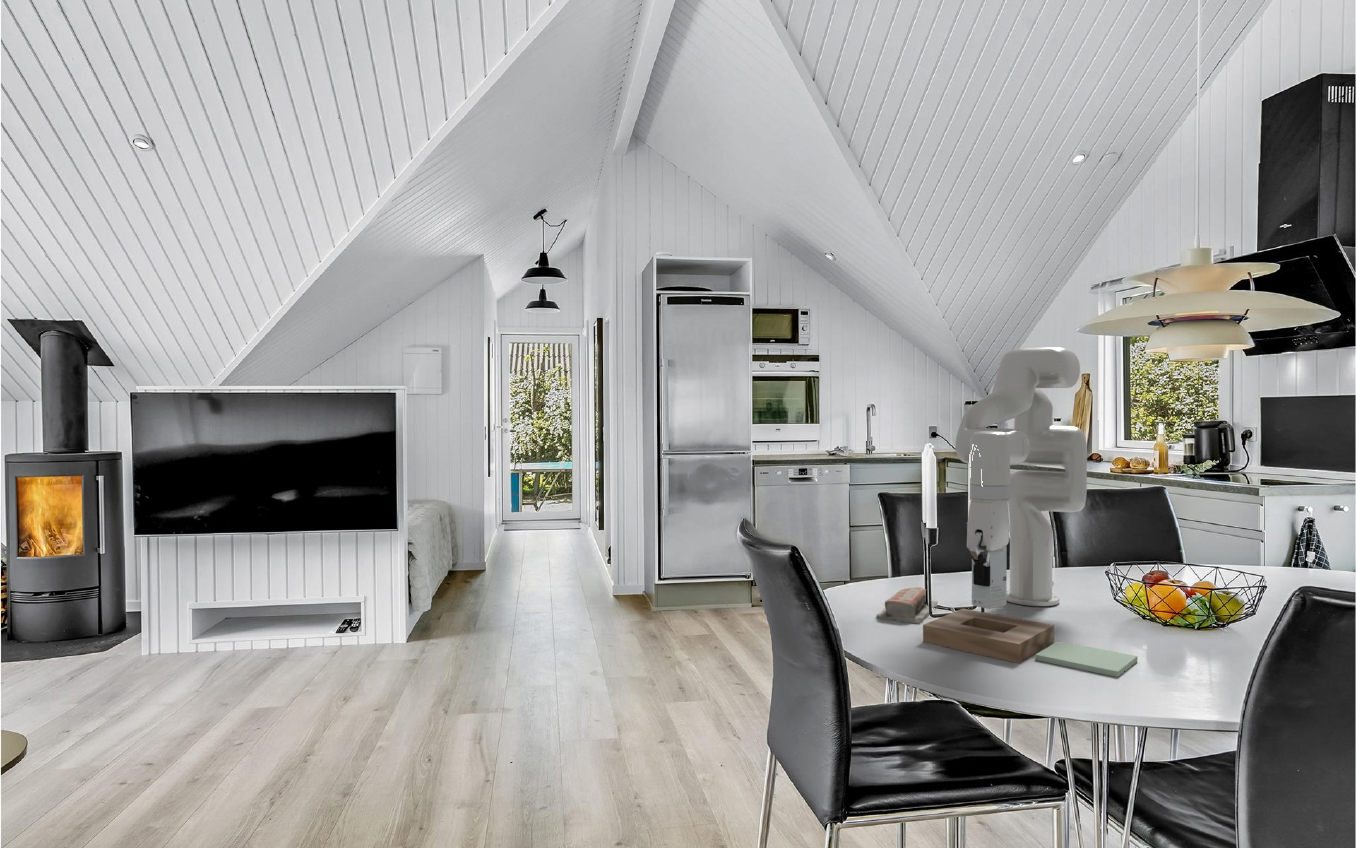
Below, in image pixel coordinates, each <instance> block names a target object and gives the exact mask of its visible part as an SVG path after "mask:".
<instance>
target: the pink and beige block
mask: <svg viewBox="0 0 1356 848" xmlns="http://www.w3.org/2000/svg"><path fill="white" fill-rule="evenodd" d="M926 590H927V589H924V588H923V587H909V588H902V589H900V590H898V591H897V592H896V593H895V594H893V595H891V596H890V598H888V599H887V600H885V601H884V608H883V609H882V610H881V611H879V612H878V613H877V614H876V619H879V620H886V621H893V622H894V621H897V622H903V623H911V624H918V623H921V624H922V623H923V622H924V621H925V620H926V619H927V618H928V617H929V616H930V615H929V608H928V606H927V604H926ZM931 601H932V608H933V609H934V607H935V606H937V607H938V604H939V603H938V602H939V601H938V600H931Z"/></svg>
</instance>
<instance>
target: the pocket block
mask: <svg viewBox="0 0 1356 848" xmlns="http://www.w3.org/2000/svg"><path fill="white" fill-rule="evenodd" d="M924 642H926V643H925V644H929V643H930V644H929V645H934V646H938V645H939V646H938V647H943V648H947V647H949V648H948V649H953V650H958V651H961V650H962V651H963V652H966V653H970V652H972V654H976V655H980V654H981V655H980V656H984V657H985V656H986V657H989V658H994V659H999V660H1004V661H1007V662H1013V663H1017V664H1021V662H1024V661H1025V660H1027V659H1028V658H1030V657H1032V656H1033V655H1036V654H1037V653H1039V652H1041V651H1042V650H1044V649H1046V648H1047V647H1049V646H1051V645H1052V644H1054V643H1055V625H1054V624H1050V623H1046V622H1038V621H1034V620H1029V619H1023V618H1017V617H1013V616H1007V615H1006V616H1005V615H1001V614H996V613H995V614H994V613H991V612H984V611H977V610H973V609H967V608H959V609H958V610H956V611H953V612H950V613H949V614H946V615H943V616H941V617H939V618H937V619H934V620H931V621H929V622H927V623H925V624H922V643H924Z"/></svg>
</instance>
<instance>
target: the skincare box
mask: <svg viewBox="0 0 1356 848" xmlns="http://www.w3.org/2000/svg"><path fill="white" fill-rule="evenodd" d="M1007 548H1008V547H1007V546H1003V547H1002V548H1000V549H998V550H996V551H993V552H991V553H990V559H989V564H988V566H990V586H988V587H987V586H980V585H975V584H974V583H973V563H972V562H973V559H972V558H971V605H972V606H974V607H977V608H983V609H986V610H987V609H988V610H991V609H994V608H995V609H996V608H1000V607H1004V606H1005V607H1006V605H1007V602H1008V601H1006V596H1007V591H1008V590H1007V579H1008V578H1007V568H1008V567H1007V553H1008V552H1007ZM979 549H983V550H986V548H983V547H980V548H979ZM980 554H981V553H980ZM982 555H983V557H985V554H982Z"/></svg>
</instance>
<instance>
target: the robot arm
mask: <svg viewBox="0 0 1356 848" xmlns="http://www.w3.org/2000/svg"><path fill="white" fill-rule="evenodd" d="M1080 364H1081V363H1080V360H1079V358H1078V356H1077V354H1076V353H1075V352H1073V351H1071V350H1069V349H1067V348H1063V347H1056V346H1055V347H1054V346H1053V347H1051V346H1050V347H1046V346H1045V347H1027V348H1025V347H1024V348H1023V347H1022V348H1016V349H1011V350H1009V351H1007V352H1006V353H1005V354H1004V355H1003V356H1002V358H1001V360H1000V362H999V366H998V369H997V373H996V376H995V380H994V384H993V387H992V391H991V393H989V394H987V395H985V396H983V397H982V398H981V399H979V400H978V401H977V402H975V403H974V404H973V405H972V406H970V407H969V408H968V409H967V410H966V411H965V413H964V414H963V416H962V417H961V420H960V423H959V425H958V426H959V427H958V430H957V433H956V437H955V444H954V446H955V447H954V449H955V454H956V457H957V458H958V459H959V460H960V461H961V462H962V463H966V464H970V463H969V454H970V452H971V450H972V444H974V446H973V450H972V454H971V467H970V466H969V469H970V468H971V478H970V477H969V500H970V503H969V509H968V516H967V517H968V518H967V530H966V531H967V533H966V547H967V549H968V550H969V552H970V554H971V560H972V559H973V562H972V561H971V564H972V563H973V583H974V584H975V585H980V586H987V587H988V586H990V566H988V564H989V559H990V553H991V552H993V551H996V550H998V549H1000V548H1002V547H1003V546H1007V545H1008V544H1009V590H1007V596H1006V602H1009V603H1012V604H1016V605H1022V606H1029V607H1052V606H1057V605H1058V604H1059V603H1060V598H1059V596H1057V595H1056V594H1053V587H1054V586H1055V582H1054V581H1053V547H1054V546H1053V545H1054V544H1053V543H1054V541H1053V539H1054V532H1053V527H1052V525H1051V523H1050V522H1049V520H1048V519H1047V517H1046V516H1045V515H1044V513H1042V512H1056V513H1058V512H1059V513H1077V512H1080V511H1082V510H1083V509H1084V508H1085V506H1086V503H1087V502H1086V501H1087V490H1088V489H1087V488H1088V483H1087V482H1088V480H1087V479H1088V478H1087V477H1088V475H1087V474H1088V446H1087V439H1086V438H1087V437H1086V435H1085V433H1084V431H1083V430H1082V429H1081V428H1079V427H1078V426H1072V425H1054V424H1053V411H1054V410H1053V409H1054V408H1053V404H1052V401H1051V400H1050V399H1049V397H1048V396H1047V394H1045V392H1044V391H1042V389H1070V388H1073V387H1074V386H1075V385H1076V384H1077V383H1078V381H1079V380H1080V379H1079V378H1080V375H1081V365H1080ZM1012 419H1014V420H1013V421H1014V424H1013V425H1014V426H1013V428H997V427H994V428H993V427H990V426H993V425H997V424H999V423H1003V422H1007V421H1010V420H1012ZM989 427H990V428H989ZM975 445H977V447H976V446H975ZM974 447H975V448H976V450H975V451H974ZM977 449H979V451H978V450H977ZM973 452H974V455H973ZM979 453H980V455H981V457H979ZM972 455H973V461H972ZM1020 464H1025V465H1034V466H1057V467H1058V466H1060V467H1063V468H1064V470H1065V471H1049V470H1035V469H1034V470H1032V469H1027V470H1026V469H1025V470H1024V469H1023V470H1017V471H1015V472H1013V473H1011V466H1017V465H1020ZM981 469H982V481H983V483H982V485H983V487H982V486H981ZM980 547H983V548H986V550H983V549H979V548H980ZM980 553H981V554H980ZM982 554H985V557H983V555H982Z"/></svg>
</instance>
